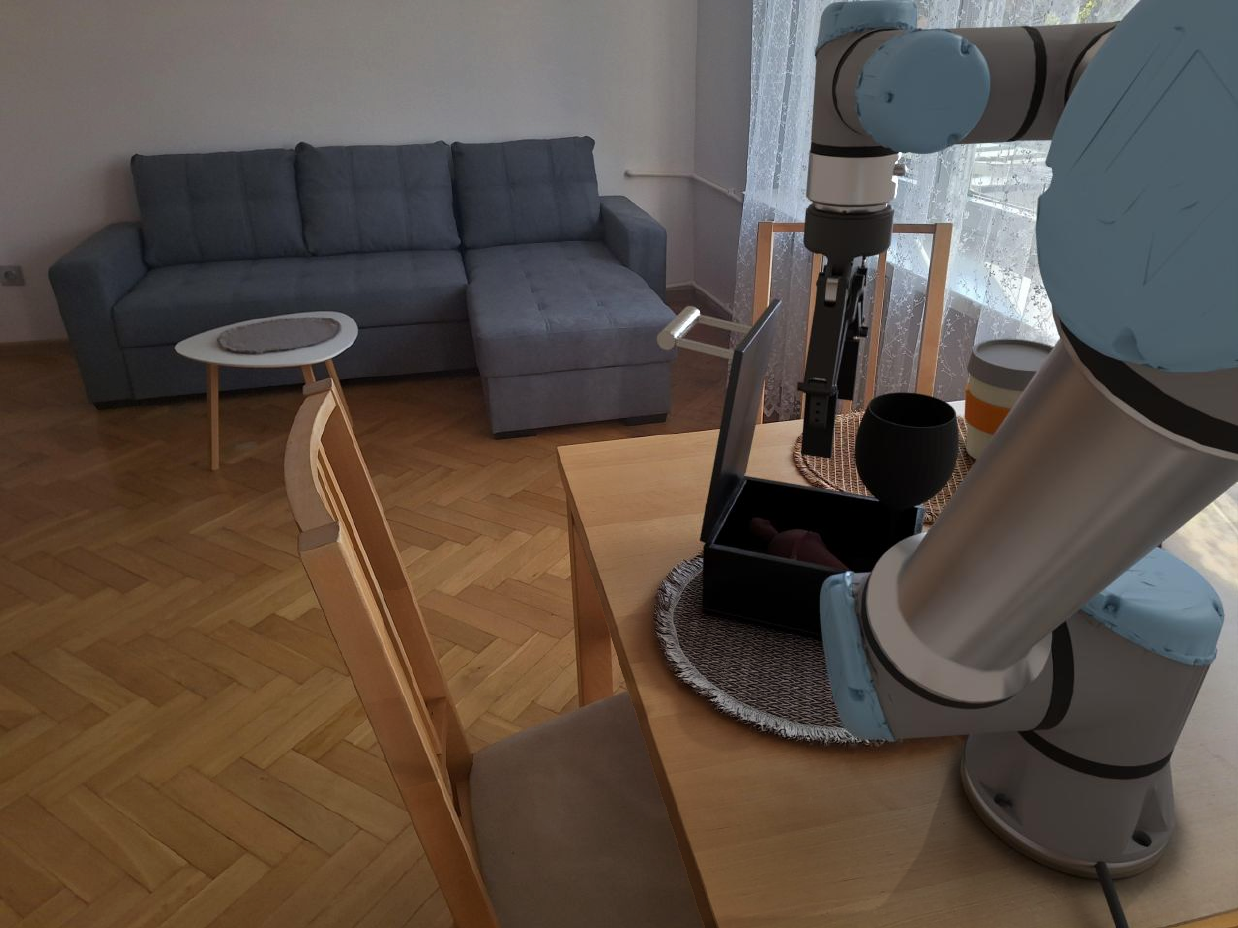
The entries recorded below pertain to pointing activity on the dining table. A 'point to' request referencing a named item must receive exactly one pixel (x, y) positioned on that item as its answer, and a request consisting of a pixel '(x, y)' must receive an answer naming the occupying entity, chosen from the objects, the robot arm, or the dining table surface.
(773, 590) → the black open box
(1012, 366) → the reusable coffee cup
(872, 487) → the wine glass
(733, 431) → the lid
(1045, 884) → the dining table surface
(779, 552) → the icecream
